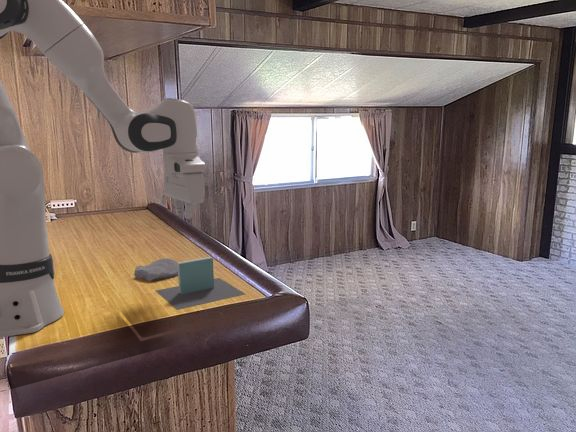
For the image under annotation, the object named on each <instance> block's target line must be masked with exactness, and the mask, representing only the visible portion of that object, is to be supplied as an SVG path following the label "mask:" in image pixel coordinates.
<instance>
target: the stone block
mask: <svg viewBox="0 0 576 432" xmlns="http://www.w3.org/2000/svg"><path fill="white" fill-rule="evenodd" d="M177 263H178V261H177V260H175V259H172V258H165V257H163V258H159V259H158V260H155V261H153V262H151V263H150V264H147V265H138V266H137V267H136V268H135V269H134V274H133V275H134V278H136V279H144V280H146V281H148V282H152V281H157V280H163V279H168V278H172V277H176V276H177V277H178V265H177Z"/></svg>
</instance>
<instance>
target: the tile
mask: <svg viewBox="0 0 576 432" xmlns="http://www.w3.org/2000/svg"><path fill="white" fill-rule="evenodd" d="M177 262H178V261H177ZM177 265H178V275H177V278H178V280H177V281H178V286H179V293H180V294H181V295H182V294H186V293H191V292H196V291H200V290H205V289H210V288H214V279H215V276H214V274H215V273H214V272H215V271H214V258H213V257H212V256H207V257H202V258H195V259H189V260H184V261H179V262H178V263H177Z"/></svg>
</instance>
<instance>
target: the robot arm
mask: <svg viewBox="0 0 576 432" xmlns="http://www.w3.org/2000/svg"><path fill="white" fill-rule="evenodd" d="M9 32H16V33H19V34H21V35H24V36H25V37H26V38H28V40H30V41H32V42H33V44H34V45H35V46H36V47H37V49H38V50H39V51H40V52H41V53H42V54H43V55H44V57H45V58H46V59H47V60H48V61H49V62H50V63H51V64H52V65H53V66H54V67H55V68H56V69H58V71H59V72H61V73H62V75H64V76H65V77H66V78H68V79H69V81H71V82H72V83H73V84H74V85H75V86H76V87H77V88H78V89H80V90H81V92H83V94H85V96H86V97H87V99H88V100H89V101H90V102H91V103H92V104H93V105H94V107H95V108H96V109H97V110H98V111H99V113H101V115H102V117H104V118H105V120H106V122H107V123H108V124H109V127H110V128H111V132H112V135H113V138H114V140H115V142H116V143H117V144H118V146H119V147H120V148H121V149H123V150H124V151H126V152H129V153H135V154H138V153H153V152H156V151H158V150H162V159H163V171H164V172H163V191H164V194H165V196H167V197H169V198H172V199H173V205H174V207H175V213H176V215H177V216H184V218H185V219H188V220H189V219H193V216H194V215H193V211H194V207H195V204H196V205H197V204H203V203H204V201H205V198H206V197H205V196H206V182H205V175H204V173H206V170H207V169H206V167H207V166H206V164H205V162H204V161H203V160H202V159H201V158H200V156H199V149H198V147H197V138H198V127H197V117H196V113H195V109H194V106H193V104H192V103H190V102H189V101H187V100H184V99H179V98H169V97H167V98H164V99H163V100H161V101H160V102H159V103H157V104H156V105H154V106H152V107H150V108H148V109H146V110H143V111H140V112H137V111H134V110H133V109H131V107H129V105H127V103H126V102H125V101H124V100H123V99H122V97H121V96H120V94H119V93H118V92H117V91H116V90H115V88H114V86H112V84H111V83H110V81H109V80H108V77H107V75H106V71H105V59H104V58H105V55H104V51H103V49H102V46H101V45H100V44H99V41H98V40H97V38H96V37H95V35H94V34H93V33H92V31H91V30H90V29H89V28H88V26H87V25H86V24H85V22H84V21H83V20H82V19H81V17H79V15H77V13H76V12H75V11H74V10H73V9H72V8H71V7H70V6H69V5H68V4H67V3H66V2H65V0H0V40H1V39H2V38H5V36H6V35H8V34H9ZM3 84H4V83H2V80H1V79H0V338H6V337H13V336H19V335H26V334H31V333H32V334H33V333H36V332H38V331H40V330H42V329H43V328H44V327H45V326H48V325H49V324H51V323H53V322H55V321H57V320H59V319H60V318H61V317H62V316H64V313H65V310H64V307H63V306H62V304H61V301H60V298H59V295H58V292H57V288H56V285H55V281H54V280H55V265H54V264H55V263H54V259H53V255H52V254H51V253H50V246H49V239H48V238H49V236H48V229H47V219H46V218H47V214H46V195H45V194H46V193H45V178H44V170H43V166H42V163H41V161H40V160H39V158H38V157H37V156H36V155H35V154H34V153H33V152H32V151H31V148H30V146H29V144H28V141H27V139H26V136H25V134H24V131H23V129H22V126H21V124H20V121H19V119H18V116H17V114H16V111H15V108H14V107H13V104H12V102H11V100H10V98H9V96H8V93H7V91H6V89H5V86H4V85H3ZM183 204H184V205H183ZM184 207H185V208H184Z"/></svg>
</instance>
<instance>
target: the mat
mask: <svg viewBox="0 0 576 432" xmlns="http://www.w3.org/2000/svg"><path fill="white" fill-rule="evenodd" d="M155 292H156V293H157V294H158V295H159V296H161V297H162V298H163V299H164V300H166V301H167V302H168V304H170V305H171V306H172V307H173V308H174V309H176V310H178V311H179V310H183V309H186V308H192V307H195V306H201V305H204V304H208V303H213V302H217V301H222V300H226V299H230V298H231V299H232V298H234V297H238V296H243V295H246V293H245V292H243V291H242V290H240V289H239V288H237V287H235V286H233V285H231V284H230V283H228V282H226V281H225V280H224V279H222V278H220V277H217V278H214V288H210V289H205V290H200V291H196V292H191V293H186V294H182V295H181V294H180V293H179V285H177V286H172V287H167V288H162V289H157V290H155Z"/></svg>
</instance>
